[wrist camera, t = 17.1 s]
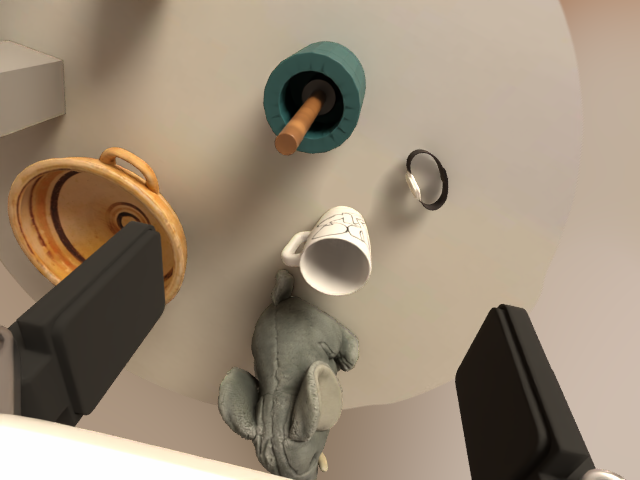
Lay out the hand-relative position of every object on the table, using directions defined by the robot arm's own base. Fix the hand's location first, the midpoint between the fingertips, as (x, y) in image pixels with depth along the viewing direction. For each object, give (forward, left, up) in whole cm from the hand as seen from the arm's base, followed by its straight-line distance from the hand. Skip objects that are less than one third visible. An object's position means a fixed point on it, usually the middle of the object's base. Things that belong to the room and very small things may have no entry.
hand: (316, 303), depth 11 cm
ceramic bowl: (+26, -31, -38) cm, 56 cm away
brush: (+2, -5, -38) cm, 38 cm away
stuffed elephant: (+41, -2, -38) cm, 56 cm away
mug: (+20, -1, -38) cm, 43 cm away
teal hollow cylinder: (+2, -5, -38) cm, 39 cm away
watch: (+10, +9, -38) cm, 41 cm away
